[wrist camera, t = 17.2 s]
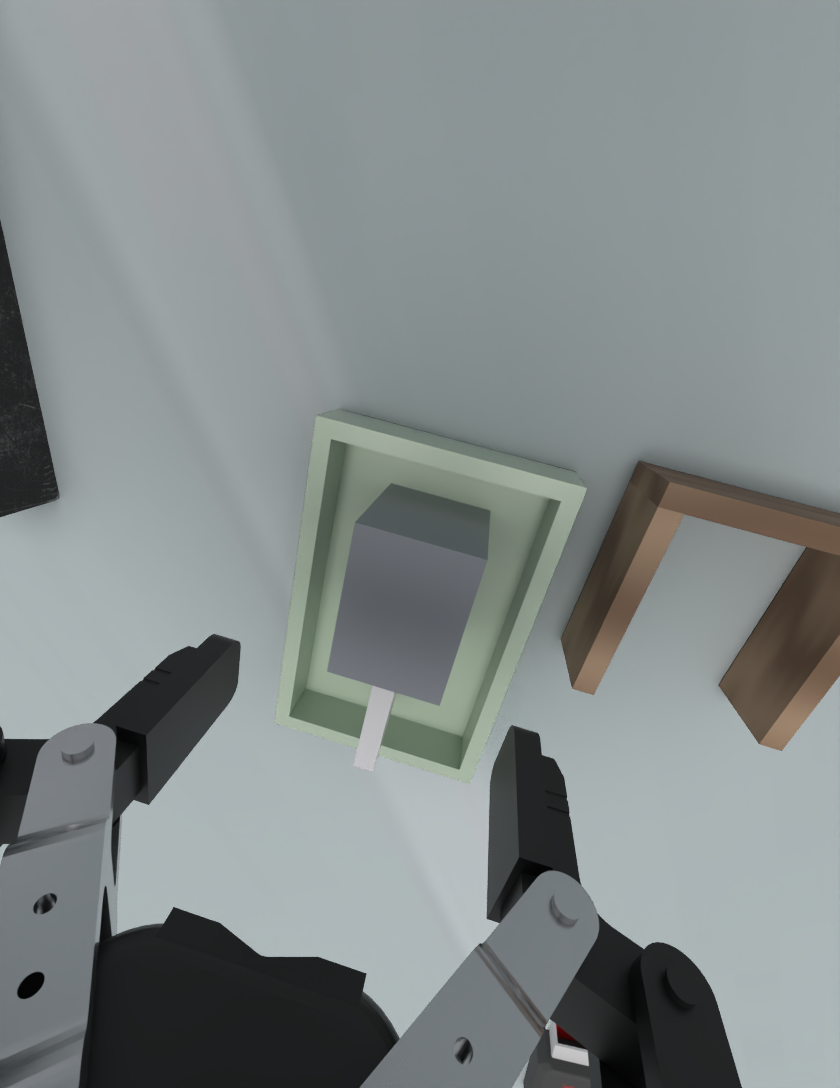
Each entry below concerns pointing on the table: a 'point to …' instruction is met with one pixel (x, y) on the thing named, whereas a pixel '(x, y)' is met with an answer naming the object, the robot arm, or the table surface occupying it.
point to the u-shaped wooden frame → (782, 633)
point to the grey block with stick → (406, 601)
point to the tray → (499, 607)
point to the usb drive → (558, 1062)
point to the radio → (20, 411)
